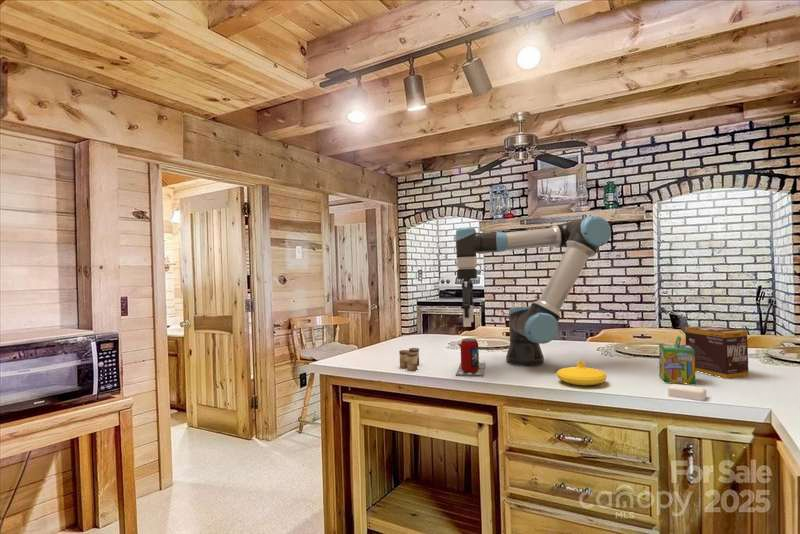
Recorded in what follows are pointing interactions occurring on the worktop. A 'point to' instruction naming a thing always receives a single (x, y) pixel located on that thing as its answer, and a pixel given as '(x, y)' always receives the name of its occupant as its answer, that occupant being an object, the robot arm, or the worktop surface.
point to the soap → (687, 392)
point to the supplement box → (719, 350)
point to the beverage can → (469, 355)
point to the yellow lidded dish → (581, 375)
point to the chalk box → (677, 363)
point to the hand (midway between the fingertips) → (468, 324)
